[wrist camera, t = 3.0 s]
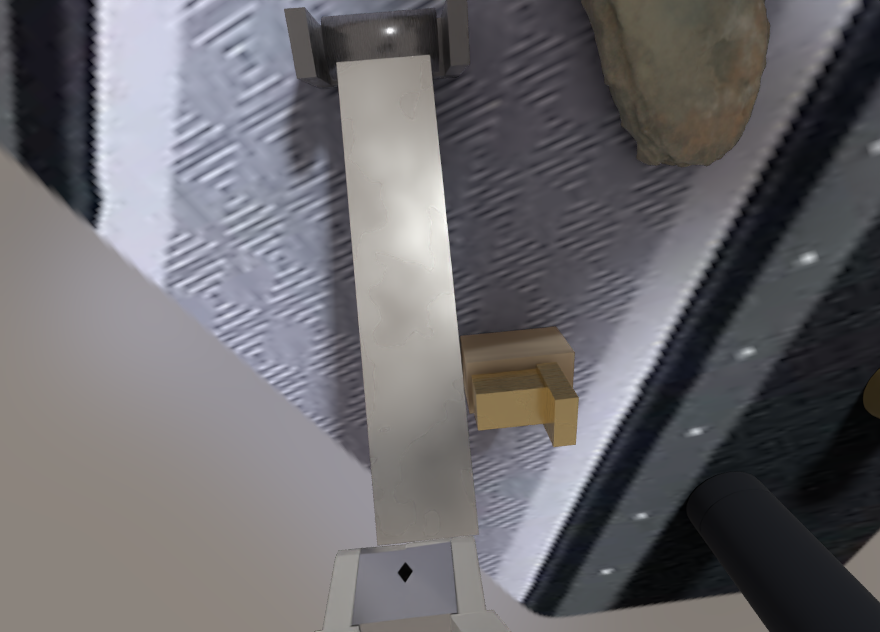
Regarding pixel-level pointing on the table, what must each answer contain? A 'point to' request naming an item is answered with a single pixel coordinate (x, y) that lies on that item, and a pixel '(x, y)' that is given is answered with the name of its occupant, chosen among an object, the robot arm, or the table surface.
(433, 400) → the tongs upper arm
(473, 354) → the tan wooden block
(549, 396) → the tan l-shaped block
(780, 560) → the wine bottle
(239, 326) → the table surface
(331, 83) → the base
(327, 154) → the table surface
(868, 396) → the cork
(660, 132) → the elongated rock
